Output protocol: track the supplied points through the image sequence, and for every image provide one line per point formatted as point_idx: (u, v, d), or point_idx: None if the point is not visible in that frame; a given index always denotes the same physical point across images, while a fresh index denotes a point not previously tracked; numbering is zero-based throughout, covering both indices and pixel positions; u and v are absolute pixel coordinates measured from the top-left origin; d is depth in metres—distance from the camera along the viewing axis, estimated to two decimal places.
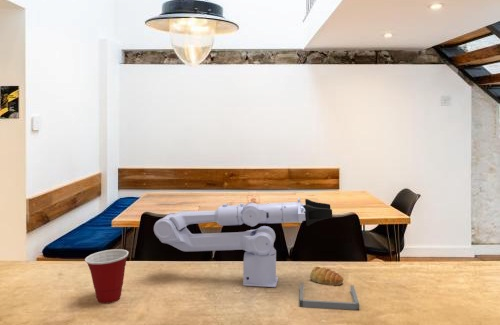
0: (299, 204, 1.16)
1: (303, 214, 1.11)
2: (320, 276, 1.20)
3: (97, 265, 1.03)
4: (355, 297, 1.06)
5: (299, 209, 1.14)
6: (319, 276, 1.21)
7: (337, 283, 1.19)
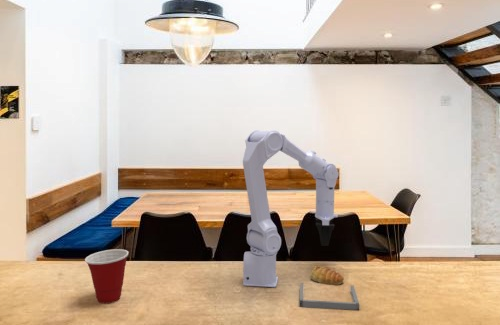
0: (333, 217, 1.30)
1: (328, 223, 1.25)
2: (321, 276, 1.21)
3: (97, 265, 1.03)
4: (355, 297, 1.06)
5: (330, 218, 1.28)
6: (319, 276, 1.21)
7: (338, 282, 1.19)
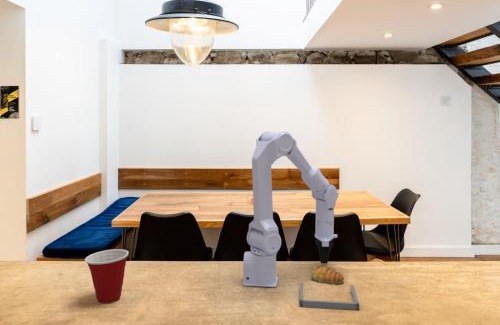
0: (332, 237, 1.30)
1: (327, 245, 1.26)
2: (321, 275, 1.21)
3: (97, 265, 1.03)
4: (355, 297, 1.06)
5: (330, 239, 1.28)
6: (320, 275, 1.21)
7: (338, 282, 1.20)
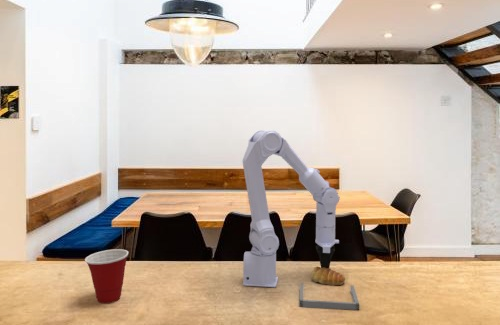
0: (334, 243, 1.24)
1: (329, 251, 1.19)
2: (322, 277, 1.20)
3: (97, 265, 1.03)
4: (355, 297, 1.06)
5: (331, 245, 1.21)
6: (321, 276, 1.20)
7: (340, 282, 1.19)
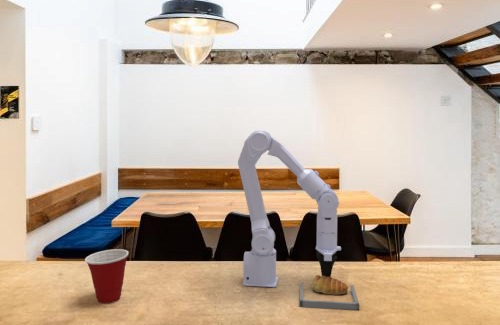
0: (336, 250, 1.16)
1: (330, 259, 1.11)
2: (325, 286, 1.12)
3: (97, 265, 1.03)
4: (355, 297, 1.06)
5: (333, 252, 1.14)
6: (323, 286, 1.12)
7: (343, 292, 1.12)
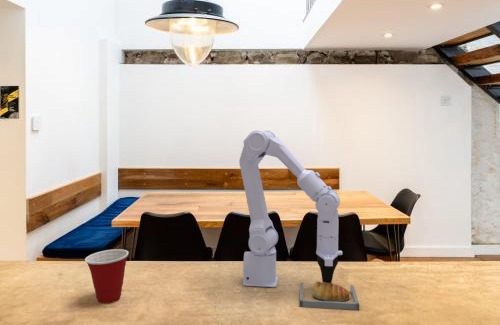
0: (337, 255, 1.12)
1: (331, 264, 1.07)
2: (327, 293, 1.08)
3: (97, 265, 1.03)
4: (355, 297, 1.06)
5: (334, 257, 1.10)
6: (325, 293, 1.08)
7: (346, 298, 1.08)
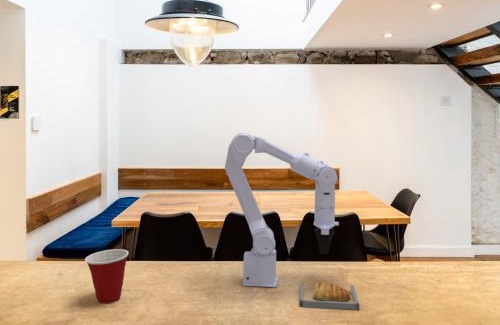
0: (333, 225, 1.18)
1: (327, 233, 1.13)
2: (328, 294, 1.07)
3: (97, 265, 1.03)
4: (355, 297, 1.06)
5: (330, 227, 1.15)
6: (326, 294, 1.07)
7: (346, 298, 1.08)
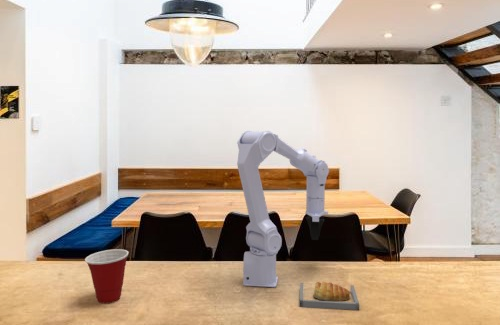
0: (323, 213, 1.31)
1: (318, 220, 1.26)
2: (328, 293, 1.08)
3: (97, 265, 1.03)
4: (355, 297, 1.06)
5: (320, 215, 1.28)
6: (326, 293, 1.08)
7: (346, 298, 1.08)
